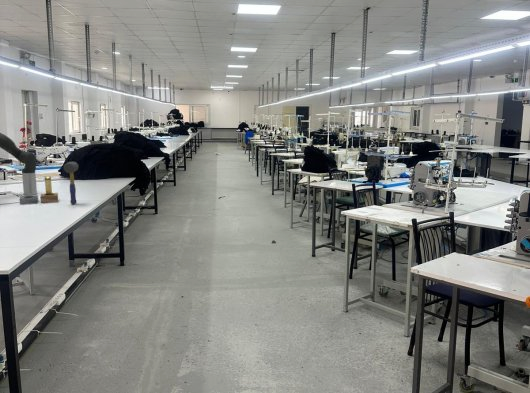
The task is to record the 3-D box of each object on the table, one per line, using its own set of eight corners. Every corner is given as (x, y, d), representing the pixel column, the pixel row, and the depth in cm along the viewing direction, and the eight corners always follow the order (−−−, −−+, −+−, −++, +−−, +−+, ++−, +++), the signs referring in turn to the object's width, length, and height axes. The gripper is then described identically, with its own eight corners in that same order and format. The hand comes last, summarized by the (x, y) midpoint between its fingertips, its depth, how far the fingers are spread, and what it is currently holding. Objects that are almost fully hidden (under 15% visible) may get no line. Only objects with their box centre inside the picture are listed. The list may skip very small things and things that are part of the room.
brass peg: (46, 201, 313) (44, 176, 310) (52, 200, 314) (51, 176, 311) (46, 202, 309) (44, 177, 306) (52, 201, 311) (50, 177, 308)
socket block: (21, 201, 309) (20, 196, 309) (38, 200, 314) (38, 195, 313) (19, 204, 299) (19, 198, 298) (37, 203, 303) (37, 197, 303)
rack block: (41, 200, 315) (41, 193, 314) (58, 199, 319) (57, 192, 319) (40, 203, 304) (40, 196, 303) (58, 202, 309) (57, 195, 308)
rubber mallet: (76, 206, 297) (74, 162, 292) (65, 206, 296) (62, 162, 290) (81, 202, 309) (78, 160, 304) (70, 202, 308) (67, 160, 302)
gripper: (-18, 157, 286) (10, 156, 293) (-15, 155, 299) (12, 155, 306) (-17, 168, 288) (11, 167, 294) (-14, 166, 300) (13, 165, 307)
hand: (11, 161), depth 300 cm, fingers open, 8 cm apart
